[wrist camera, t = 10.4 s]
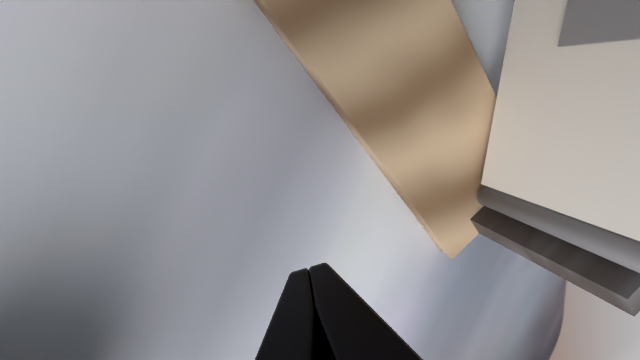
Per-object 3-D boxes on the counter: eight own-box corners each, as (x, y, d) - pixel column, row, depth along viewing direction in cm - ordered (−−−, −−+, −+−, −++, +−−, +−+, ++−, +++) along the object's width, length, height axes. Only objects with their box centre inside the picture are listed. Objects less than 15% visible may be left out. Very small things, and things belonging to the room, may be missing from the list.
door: (543, -185, 16) (1225, -715, 5) (564, -176, 16) (1228, -646, 6) (473, 205, 21) (742, 326, 10) (490, 203, 21) (764, 318, 11)
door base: (193, -81, 13) (178, -416, 4) (335, -199, 14) (581, -714, 5) (441, 250, 23) (595, 358, 14) (519, 173, 24) (717, 230, 15)
